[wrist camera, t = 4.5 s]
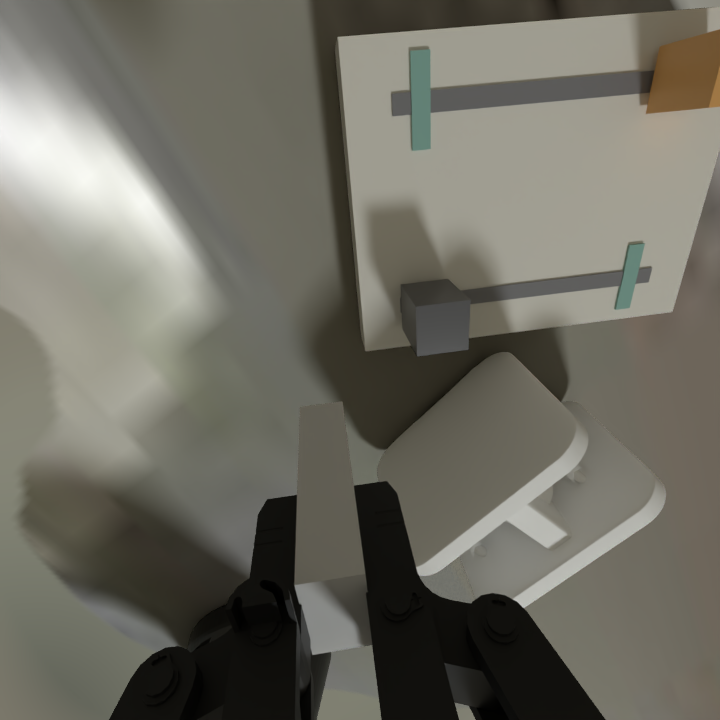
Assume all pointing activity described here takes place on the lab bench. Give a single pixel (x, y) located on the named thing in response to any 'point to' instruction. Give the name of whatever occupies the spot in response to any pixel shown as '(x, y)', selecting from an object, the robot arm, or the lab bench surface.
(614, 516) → the cable organizer
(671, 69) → the orange fader
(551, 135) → the mixing board
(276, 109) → the lab bench surface
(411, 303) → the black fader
